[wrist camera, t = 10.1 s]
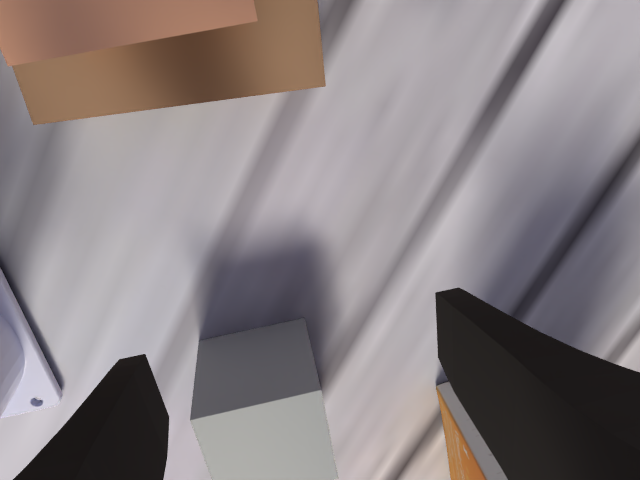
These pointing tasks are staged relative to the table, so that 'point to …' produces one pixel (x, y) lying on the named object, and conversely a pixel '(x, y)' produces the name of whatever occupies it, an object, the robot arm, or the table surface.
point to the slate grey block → (261, 406)
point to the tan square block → (182, 67)
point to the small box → (465, 441)
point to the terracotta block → (106, 24)
